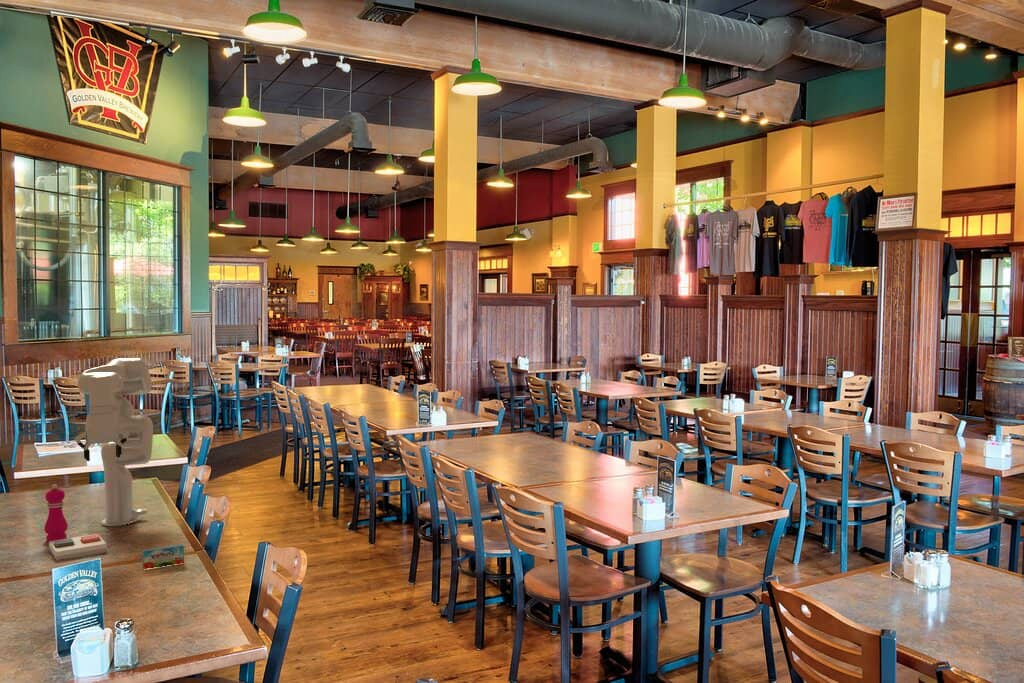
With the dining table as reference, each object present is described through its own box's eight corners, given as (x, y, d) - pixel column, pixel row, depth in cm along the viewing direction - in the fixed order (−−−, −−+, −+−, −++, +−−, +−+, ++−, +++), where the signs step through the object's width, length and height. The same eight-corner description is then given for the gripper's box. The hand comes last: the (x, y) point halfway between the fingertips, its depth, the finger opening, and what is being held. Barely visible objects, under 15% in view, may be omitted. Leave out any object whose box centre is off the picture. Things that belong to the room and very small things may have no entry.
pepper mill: (57, 543, 283) (55, 486, 282) (39, 542, 285) (38, 486, 284) (72, 537, 290) (71, 482, 289) (55, 536, 292) (53, 481, 291)
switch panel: (97, 542, 284) (97, 533, 284) (106, 552, 272) (106, 543, 272) (49, 550, 275) (48, 541, 275) (56, 560, 263) (56, 551, 263)
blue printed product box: (143, 570, 253) (142, 551, 253) (142, 569, 254) (142, 550, 254) (184, 564, 259) (183, 545, 259) (183, 563, 260) (183, 544, 260)
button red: (97, 541, 280) (97, 534, 279) (100, 544, 276) (100, 537, 276) (81, 544, 277) (81, 536, 276) (83, 547, 273) (83, 540, 272)
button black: (71, 545, 275) (71, 538, 275) (74, 548, 271) (73, 541, 271) (54, 548, 272) (54, 540, 272) (57, 551, 268) (56, 544, 268)
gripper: (125, 407, 290) (127, 454, 291) (71, 411, 279) (73, 460, 280) (130, 409, 284) (132, 457, 285) (75, 413, 273) (77, 463, 274)
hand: (103, 458), depth 282 cm, fingers open, 9 cm apart
